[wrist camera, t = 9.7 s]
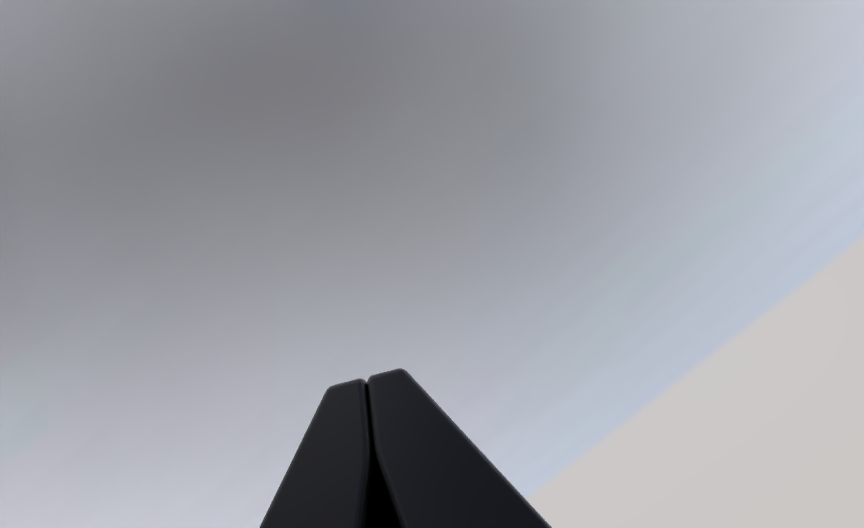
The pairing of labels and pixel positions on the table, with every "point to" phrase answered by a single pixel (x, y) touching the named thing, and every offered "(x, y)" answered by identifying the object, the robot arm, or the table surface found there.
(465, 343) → the table surface
